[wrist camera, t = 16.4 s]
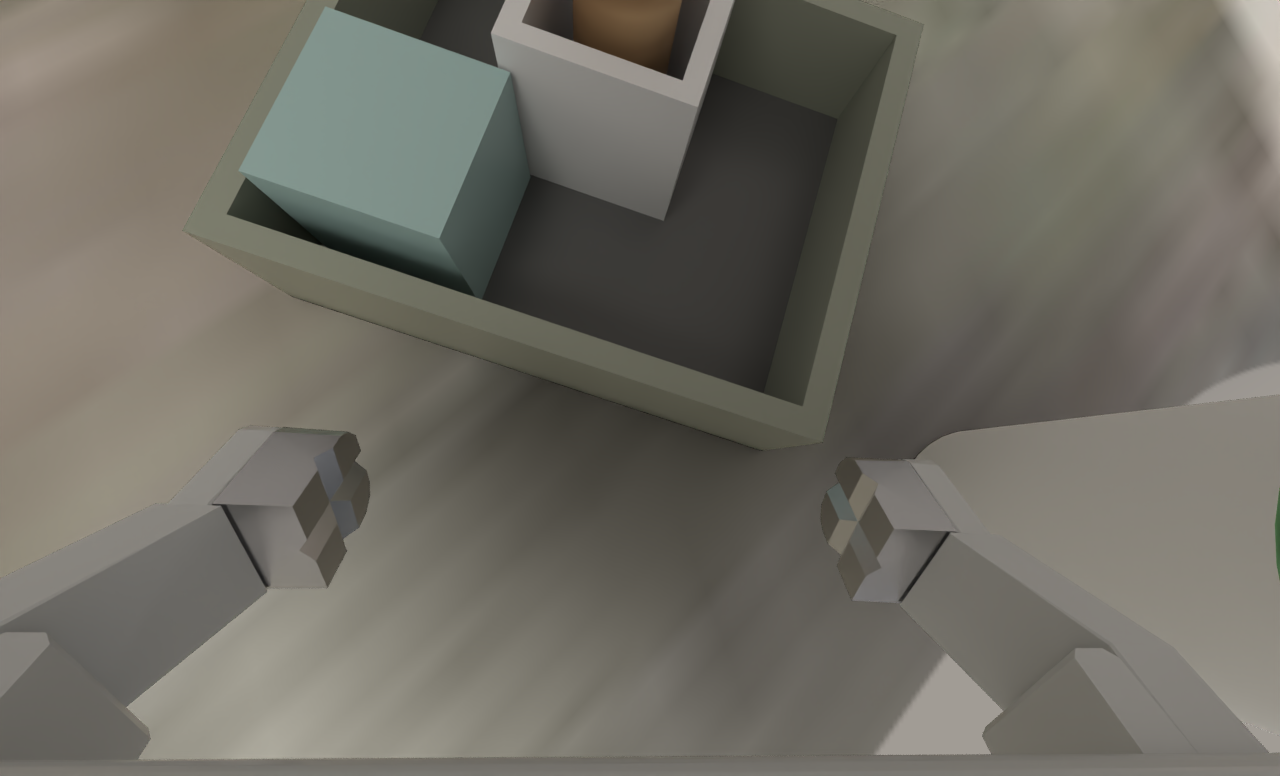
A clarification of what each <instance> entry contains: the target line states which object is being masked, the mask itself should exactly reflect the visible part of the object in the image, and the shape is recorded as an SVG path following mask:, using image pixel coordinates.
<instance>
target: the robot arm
mask: <svg viewBox="0 0 1280 776" xmlns="http://www.w3.org/2000/svg"><path fill="white" fill-rule="evenodd" d="M360 452H361V449H360V446H359V444H358V441H357V438H356V435H354V434H352V433H350V432H344V431H330V430H316V429H302V428H289V427H283V428H279V427H266V426H253V425H249V426H247V427H244V428H241V429H239V430H238V431H237V432H236V433H235V434H234V435H233V436H232V437H231V438H230V439H229V440H228V441H227V442H226V443H225V444H224V445H223V446H222V447H221V448H220V449H219V450H218V452H217V453H216V454H215V455H214V456H213V457H212V458H211V459H210V460H209V461H208V462H207V463H206V464H205V465H204V466H203V467H202V468H201V469H200V470H199V471H198V472H197V473H196V475H195V476H194V477H193V478H192V479H191V480H190V481H189V482H188V483H187V484H186V485H185V486H184V487H183V488H182V489H181V490H180V491H179V492H178V493H177V494H176V495H175V496H174V497H173V499H172V500H171V501H170V502H169V503H168V504H159V503H155V504H153V505H151V506H149V507H147V508H145V509H143V510H141V511H139V512H137V513H135V514H132V515H130V516H128V517H126V518H124V519H122V520H120V521H118V522H116V523H114V524H112V525H110V526H108V527H106V528H103V529H101V530H99V531H97V532H95V533H93V534H91V535H89V536H87V537H85V538H83V539H81V540H79V541H77V542H74V543H72V544H70V545H68V546H66V547H64V548H62V549H60V550H58V551H56V552H54V553H52V554H50V555H48V556H45V557H43V558H41V559H39V560H37V561H35V562H33V563H31V564H29V565H27V566H25V567H23V568H21V569H18V570H16V571H14V572H12V573H10V574H8V575H6V576H4V577H2V578H0V776H1280V753H1269V752H1268V751H1267V750H1266V748H1265V747H1264V746H1263V745H1262V744H1261V743H1260V742H1259V741H1258V740H1257V739H1256V737H1255V736H1254V735H1253V734H1252V733H1251V732H1250V731H1249V730H1248V729H1247V728H1246V726H1245V725H1244V724H1243V723H1242V722H1241V721H1240V720H1239V719H1238V718H1237V716H1236V715H1235V714H1234V713H1233V712H1232V711H1231V710H1230V709H1229V708H1228V707H1227V705H1226V704H1225V703H1224V702H1223V701H1222V700H1221V699H1220V698H1219V697H1218V696H1217V694H1216V693H1215V692H1214V691H1213V690H1212V689H1211V688H1210V687H1209V686H1208V684H1207V683H1206V682H1205V681H1204V680H1203V679H1202V678H1201V677H1200V676H1199V675H1198V673H1197V672H1196V671H1195V670H1194V669H1193V668H1192V667H1191V666H1190V665H1189V664H1188V662H1187V661H1186V660H1185V659H1184V658H1183V657H1182V656H1181V655H1180V654H1179V652H1178V651H1177V650H1176V649H1175V648H1174V647H1172V646H1171V645H1169V644H1168V643H1166V642H1165V641H1163V640H1162V639H1160V638H1159V637H1157V636H1155V635H1154V634H1152V633H1151V632H1149V631H1148V630H1146V629H1145V628H1143V627H1142V626H1140V625H1138V624H1137V623H1135V622H1134V621H1132V620H1131V619H1129V618H1128V617H1126V616H1125V615H1123V614H1121V613H1120V612H1118V611H1117V610H1115V609H1114V608H1112V607H1111V606H1109V605H1108V604H1106V603H1104V602H1103V601H1101V600H1100V599H1098V598H1097V597H1095V596H1094V595H1092V594H1091V593H1089V592H1087V591H1086V590H1084V589H1083V588H1081V587H1080V586H1078V585H1077V584H1075V583H1074V582H1072V581H1070V580H1069V579H1067V578H1066V577H1064V576H1063V575H1061V574H1060V573H1058V572H1057V571H1055V570H1053V569H1052V568H1050V567H1049V566H1047V565H1046V564H1044V563H1043V562H1041V561H1040V560H1038V559H1036V558H1035V557H1033V556H1032V555H1030V554H1029V553H1027V552H1026V551H1024V550H1023V549H1021V548H1019V547H1018V546H1016V545H1015V544H1013V543H1012V542H1010V541H1009V540H1007V539H1006V538H1004V537H1002V536H1001V535H996V534H990V533H989V531H988V530H987V529H986V527H985V526H984V525H983V523H982V522H981V521H980V519H979V518H978V517H977V515H976V514H975V513H974V511H973V510H972V509H971V507H970V506H969V505H968V503H967V502H966V501H965V499H964V498H963V497H962V496H961V494H960V493H959V492H958V490H957V489H956V488H955V486H954V485H953V484H952V482H951V481H950V480H949V478H948V477H947V476H946V474H945V473H944V472H943V470H942V469H941V468H940V466H939V465H937V464H936V463H934V462H933V461H931V460H916V459H901V460H898V459H879V458H856V457H846V458H844V459H843V460H842V461H841V462H840V463H839V465H838V467H837V470H836V472H835V475H836V477H837V479H838V481H839V483H838V484H836V485H835V486H833V487H832V488H831V489H829V490H828V491H827V492H826V494H825V497H824V499H823V502H822V504H821V525H822V530H823V533H824V536H825V538H826V541H827V543H828V544H829V545H830V546H831V547H832V548H833V549H834V550H836V551H837V552H838V553H839V554H840V555H841V556H840V558H839V561H838V564H837V567H838V570H839V572H840V574H841V577H842V579H843V582H844V584H845V586H846V589H847V591H848V593H849V596H850V598H851V600H852V601H869V602H889V603H901V604H900V606H901V607H902V608H903V609H904V610H905V611H906V612H907V613H908V614H909V615H910V616H911V617H912V618H913V620H914V621H915V622H916V623H917V624H918V625H919V626H920V627H921V628H922V629H923V630H924V631H925V632H926V633H927V634H928V635H929V636H930V637H931V638H932V639H933V640H934V641H935V642H936V643H937V644H938V645H939V646H940V647H941V648H942V649H943V650H944V651H945V652H946V653H947V654H948V655H949V656H950V657H951V658H952V659H953V660H954V661H955V662H956V663H957V664H958V665H959V666H960V667H961V668H962V669H963V670H964V671H965V672H966V673H967V674H968V675H969V676H970V677H971V678H972V679H973V680H974V681H975V682H976V683H977V684H978V685H979V686H980V687H981V688H982V689H983V690H984V691H985V692H986V693H987V694H988V695H989V696H990V697H991V698H992V699H993V701H995V702H996V704H997V705H998V706H999V707H1000V708H1001V709H1002V710H1003V712H1002V713H1001V714H1000V715H999V716H998V717H996V718H995V719H994V720H993V721H992V722H991V723H990V724H988V725H987V726H986V727H985V730H984V732H983V735H982V737H983V739H984V741H985V742H986V744H987V746H988V748H989V750H990V752H991V755H990V754H989V755H988V754H986V755H985V754H984V755H813V756H646V757H478V758H324V759H170V760H137V759H138V758H139V756H140V755H141V753H142V752H143V750H144V748H145V747H146V745H147V744H148V742H149V741H150V739H151V738H150V734H149V729H148V727H146V726H145V725H144V724H143V723H142V722H141V721H140V720H139V719H138V718H137V717H136V716H135V715H134V714H133V713H132V712H130V711H129V710H128V709H127V708H126V707H127V706H128V705H129V704H130V703H131V702H133V701H134V700H135V699H136V698H138V697H139V696H140V695H141V694H142V693H144V692H145V691H146V690H147V689H149V688H150V687H151V686H152V685H154V684H155V683H156V682H157V681H158V680H160V679H161V678H162V677H163V676H165V675H166V674H167V673H168V672H169V671H171V670H172V669H173V668H174V667H176V666H177V665H178V664H179V663H181V662H182V661H183V660H184V659H185V658H187V657H188V656H189V655H190V654H192V653H193V652H194V651H195V650H196V649H198V648H199V647H200V646H201V645H203V644H204V643H205V642H206V641H207V640H209V639H210V638H211V637H212V636H214V635H215V634H216V633H217V632H219V631H220V630H221V629H222V628H223V627H225V626H226V625H227V624H228V623H230V622H231V621H232V620H233V619H234V618H236V617H237V616H238V615H239V614H241V613H242V612H243V611H244V610H246V609H247V608H248V607H249V606H250V605H252V604H253V603H254V602H255V601H257V600H258V599H259V598H260V597H261V596H263V595H264V594H265V593H266V592H267V589H271V588H328V586H329V584H330V582H331V581H332V579H333V577H334V575H335V573H336V571H337V569H338V567H339V565H340V563H341V561H342V560H343V558H344V556H345V554H346V552H347V550H346V547H345V544H344V541H343V538H345V537H346V536H348V535H349V534H351V533H352V532H354V531H355V530H356V529H358V528H359V527H360V525H361V523H362V521H363V518H364V516H365V514H366V512H367V507H368V503H369V498H370V481H369V478H368V474H367V471H366V470H365V469H364V468H363V467H361V466H360V465H359V464H358V463H356V462H355V460H356V458H357V457H358V455H359V453H360Z"/></svg>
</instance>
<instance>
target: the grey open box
mask: <svg viewBox="0 0 1280 776" xmlns="http://www.w3.org/2000/svg"><path fill="white" fill-rule="evenodd" d="M923 25H924V24H922V23H919V22H916V21H914V20H911V19H908V18H906V17H903V16H900V15H898V14H895V13H892V12H890V11H887V10H884V9H882V8H879V7H876V6H874V5H871V4H868V3H866V2H863V1H860V0H682V3H681V8H680V12H679V17H678V22H677V27H676V31H675V36H674V41H673V46H672V50H671V55H670V60H669V64H668V69H667V74H663V73H660V72H657V71H655V70H652V69H649V68H646V67H644V66H641V65H638V64H635V63H632V62H630V61H627V60H624V59H621V58H619V57H616V56H613V55H610V54H607V53H605V52H602V51H599V50H596V49H594V48H591V47H588V46H585V45H583V44H580V43H577V42H574V41H573V0H307V1H306V3H305V5H304V6H303V8H302V10H301V12H300V14H299V16H298V18H297V19H296V21H295V23H294V25H293V27H292V29H291V31H290V32H289V34H288V36H287V38H286V40H285V42H284V43H283V45H282V47H281V49H280V51H279V53H278V55H277V56H276V58H275V60H274V62H273V64H272V66H271V68H270V69H269V71H268V73H267V75H266V77H265V79H264V80H263V82H262V84H261V86H260V88H259V90H258V92H257V93H256V95H255V97H254V99H253V101H252V103H251V105H250V106H249V108H248V110H247V112H246V114H245V116H244V117H243V119H242V121H241V123H240V125H239V127H238V129H237V130H236V132H235V134H234V136H233V138H232V140H231V142H230V143H229V145H228V147H227V149H226V151H225V153H224V154H223V156H222V158H221V160H220V162H219V164H218V166H217V167H216V169H215V171H214V173H213V175H212V177H211V179H210V180H209V182H208V184H207V186H206V188H205V190H204V191H203V193H202V195H201V197H200V199H199V201H198V203H197V204H196V206H195V208H194V210H193V212H192V214H191V216H190V217H189V219H188V221H187V223H186V225H185V227H184V228H183V230H182V231H184V232H185V233H187V234H189V235H190V236H192V237H194V238H195V239H197V240H199V241H200V242H202V243H204V244H205V245H207V246H209V247H210V248H212V249H214V250H215V251H217V252H219V253H220V254H222V255H224V256H225V257H227V258H229V259H230V260H232V261H234V262H235V263H237V264H239V265H240V266H242V267H244V268H245V269H247V270H249V271H250V272H252V273H254V274H255V275H257V276H259V277H260V278H262V279H264V280H265V281H267V282H269V283H270V284H272V285H274V286H275V287H277V288H279V289H280V290H282V291H284V292H285V293H287V294H289V295H290V296H292V297H295V298H298V299H301V300H304V301H307V302H310V303H313V304H316V305H319V306H322V307H325V308H328V309H331V310H334V311H337V312H341V313H344V314H347V315H350V316H353V317H356V318H359V319H362V320H365V321H368V322H371V323H374V324H377V325H380V326H383V327H386V328H389V329H392V330H395V331H398V332H401V333H404V334H408V335H411V336H414V337H417V338H420V339H423V340H426V341H429V342H432V343H435V344H438V345H441V346H444V347H447V348H450V349H453V350H456V351H459V352H462V353H465V354H468V355H471V356H475V357H478V358H481V359H484V360H487V361H490V362H493V363H496V364H499V365H502V366H505V367H508V368H511V369H514V370H517V371H520V372H523V373H526V374H529V375H532V376H535V377H539V378H542V379H545V380H548V381H551V382H554V383H557V384H560V385H563V386H566V387H569V388H572V389H575V390H578V391H581V392H584V393H587V394H590V395H593V396H596V397H599V398H602V399H606V400H609V401H612V402H615V403H618V404H621V405H624V406H627V407H630V408H633V409H636V410H639V411H642V412H645V413H648V414H651V415H654V416H657V417H660V418H663V419H666V420H669V421H673V422H676V423H679V424H682V425H685V426H688V427H691V428H694V429H697V430H700V431H703V432H706V433H709V434H712V435H715V436H718V437H721V438H724V439H727V440H730V441H733V442H737V443H740V444H743V445H746V446H749V447H752V448H755V449H758V450H761V451H764V450H772V449H779V448H787V447H794V446H802V445H809V444H817V443H823V440H824V435H825V431H826V427H827V423H828V419H829V415H830V411H831V406H832V402H833V398H834V394H835V390H836V386H837V382H838V377H839V373H840V369H841V365H842V361H843V357H844V353H845V348H846V344H847V340H848V336H849V332H850V328H851V324H852V319H853V315H854V311H855V307H856V303H857V299H858V295H859V290H860V286H861V282H862V278H863V274H864V270H865V266H866V261H867V257H868V253H869V249H870V245H871V241H872V237H873V232H874V228H875V224H876V220H877V216H878V212H879V208H880V203H881V199H882V195H883V191H884V187H885V183H886V179H887V174H888V170H889V166H890V162H891V158H892V154H893V150H894V145H895V141H896V137H897V133H898V129H899V125H900V121H901V116H902V112H903V108H904V104H905V100H906V96H907V92H908V87H909V83H910V79H911V75H912V71H913V67H914V63H915V58H916V54H917V50H918V46H919V42H920V38H921V34H922V29H923Z"/></svg>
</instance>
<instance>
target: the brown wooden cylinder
mask: <svg viewBox="0 0 1280 776" xmlns="http://www.w3.org/2000/svg"><path fill="white" fill-rule="evenodd" d="M681 3H682V0H573V41H574V42H577V43H580V44H583V45H585V46H588V47H591V48H594V49H596V50H599V51H602V52H605V53H607V54H610V55H613V56H616V57H619V58H621V59H624V60H627V61H630V62H632V63H635V64H638V65H641V66H644V67H646V68H649V69H652V70H655V71H657V72H660V73H663V74H667V69H668V64H669V60H670V55H671V50H672V46H673V41H674V36H675V31H676V27H677V22H678V17H679V12H680V8H681Z"/></svg>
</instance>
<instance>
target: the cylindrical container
mask: <svg viewBox="0 0 1280 776" xmlns="http://www.w3.org/2000/svg"><path fill="white" fill-rule="evenodd" d="M915 459H916V460H931V461H933V462H934V463H936V464H937V465H939V466H940V468H941V469H942V470H943V472H944V473H945V474H946V476H947V477H948V478H949V480H950V481H951V482H952V484H953V485H954V486H955V488H956V489H957V490H958V492H959V493H960V494H961V496H962V497H963V498H964V499H965V501H966V502H967V503H968V505H969V506H970V507H971V509H972V510H973V511H974V513H975V514H976V515H977V517H978V518H979V519H980V521H981V522H982V523H983V525H984V526H985V527H986V529H987V530H988V531H989V533H990V534H996V535H1001V536H1002V537H1004V538H1006V539H1007V540H1009V541H1010V542H1012V543H1013V544H1015V545H1016V546H1018V547H1019V548H1021V549H1023V550H1024V551H1026V552H1027V553H1029V554H1030V555H1032V556H1033V557H1035V558H1036V559H1038V560H1040V561H1041V562H1043V563H1044V564H1046V565H1047V566H1049V567H1050V568H1052V569H1053V570H1055V571H1057V572H1058V573H1060V574H1061V575H1063V576H1064V577H1066V578H1067V579H1069V580H1070V581H1072V582H1074V583H1075V584H1077V585H1078V586H1080V587H1081V588H1083V589H1084V590H1086V591H1087V592H1089V593H1091V594H1092V595H1094V596H1095V597H1097V598H1098V599H1100V600H1101V601H1103V602H1104V603H1106V604H1108V605H1109V606H1111V607H1112V608H1114V609H1115V610H1117V611H1118V612H1120V613H1121V614H1123V615H1125V616H1126V617H1128V618H1129V619H1131V620H1132V621H1134V622H1135V623H1137V624H1138V625H1140V626H1142V627H1143V628H1145V629H1146V630H1148V631H1149V632H1151V633H1152V634H1154V635H1155V636H1157V637H1159V638H1160V639H1162V640H1163V641H1165V642H1166V643H1168V644H1169V645H1171V646H1172V647H1174V648H1175V649H1176V650H1177V651H1178V652H1179V654H1180V655H1181V656H1182V657H1183V658H1184V659H1185V660H1186V661H1187V662H1188V664H1189V665H1190V666H1191V667H1192V668H1193V669H1194V670H1195V671H1196V672H1197V673H1198V675H1199V676H1200V677H1201V678H1202V679H1203V680H1204V681H1205V682H1206V683H1207V684H1208V686H1209V687H1210V688H1211V689H1212V690H1213V691H1214V692H1215V693H1216V694H1217V696H1218V697H1219V698H1220V699H1221V700H1222V701H1223V702H1224V703H1225V704H1226V705H1227V707H1228V708H1229V709H1230V710H1231V711H1232V712H1233V713H1234V714H1235V715H1236V716H1237V718H1238V719H1239V720H1240V721H1241V722H1244V723H1246V724H1249V725H1251V726H1254V727H1257V728H1259V729H1262V730H1265V731H1267V732H1270V733H1273V734H1275V735H1278V736H1280V395H1272V396H1264V397H1255V398H1246V399H1237V400H1228V401H1220V402H1212V403H1202V404H1194V405H1185V406H1176V407H1168V408H1159V409H1150V410H1142V411H1133V412H1124V413H1116V414H1107V415H1098V416H1090V417H1081V418H1072V419H1063V420H1055V421H1046V422H1037V423H1029V424H1020V425H1011V426H1003V427H994V428H985V429H977V430H968V431H959V432H955V433H952V434H949V435H946V436H943V437H941V438H939V439H938V440H936V441H934V442H933V443H931V444H929V445H928V446H927V447H926V448H925V449H924V450H923V451H922V452H921V453H919V454H918V456H917V457H916V458H915Z"/></svg>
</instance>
